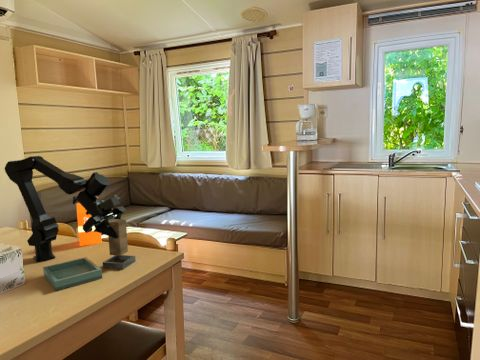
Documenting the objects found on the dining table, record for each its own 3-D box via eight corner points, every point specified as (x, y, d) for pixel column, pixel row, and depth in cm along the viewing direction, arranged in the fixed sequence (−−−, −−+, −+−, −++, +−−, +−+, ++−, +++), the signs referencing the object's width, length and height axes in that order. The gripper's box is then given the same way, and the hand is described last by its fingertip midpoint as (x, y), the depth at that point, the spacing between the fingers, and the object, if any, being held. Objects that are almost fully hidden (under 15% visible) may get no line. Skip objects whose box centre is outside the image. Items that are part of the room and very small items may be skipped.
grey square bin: (103, 267, 125) (102, 262, 124) (116, 259, 132) (116, 254, 132) (123, 269, 123) (122, 264, 122) (135, 261, 130) (135, 255, 130)
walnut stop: (109, 254, 125) (107, 222, 124) (117, 250, 130) (114, 219, 128) (120, 255, 124) (118, 222, 123) (127, 251, 129) (125, 219, 127)
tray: (43, 275, 119) (43, 267, 119) (86, 264, 128) (86, 256, 127) (55, 291, 107) (54, 281, 106) (102, 278, 116) (101, 269, 115)
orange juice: (80, 241, 157) (76, 197, 154) (101, 238, 160) (98, 195, 157) (79, 246, 149) (75, 200, 147) (101, 243, 153) (98, 198, 150)
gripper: (87, 193, 116) (118, 228, 115) (119, 185, 134) (147, 214, 132) (69, 216, 119) (99, 249, 118) (103, 204, 137) (130, 233, 136)
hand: (121, 235), depth 126 cm, fingers closed on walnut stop, 4 cm apart
